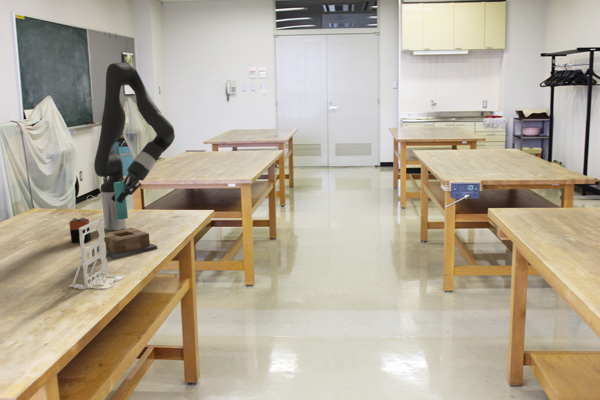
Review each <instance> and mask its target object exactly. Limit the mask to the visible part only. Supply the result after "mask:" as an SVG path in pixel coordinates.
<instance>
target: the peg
mask: <svg viewBox="0 0 600 400" xmlns="http://www.w3.org/2000/svg"><path fill="white" fill-rule="evenodd" d="M124 186H125V183H124V182H115V183H114V192H115V202H116V212H117V219H125V220H126V219H128V218H129V215H128V205H127V204H128V203H127V197H126V198H125V199H124V200H123V202H122V203H119V202H118V201H117V198H118V197H119V195H120V194H121V193H123V190H124V188H125V187H124Z"/></svg>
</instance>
